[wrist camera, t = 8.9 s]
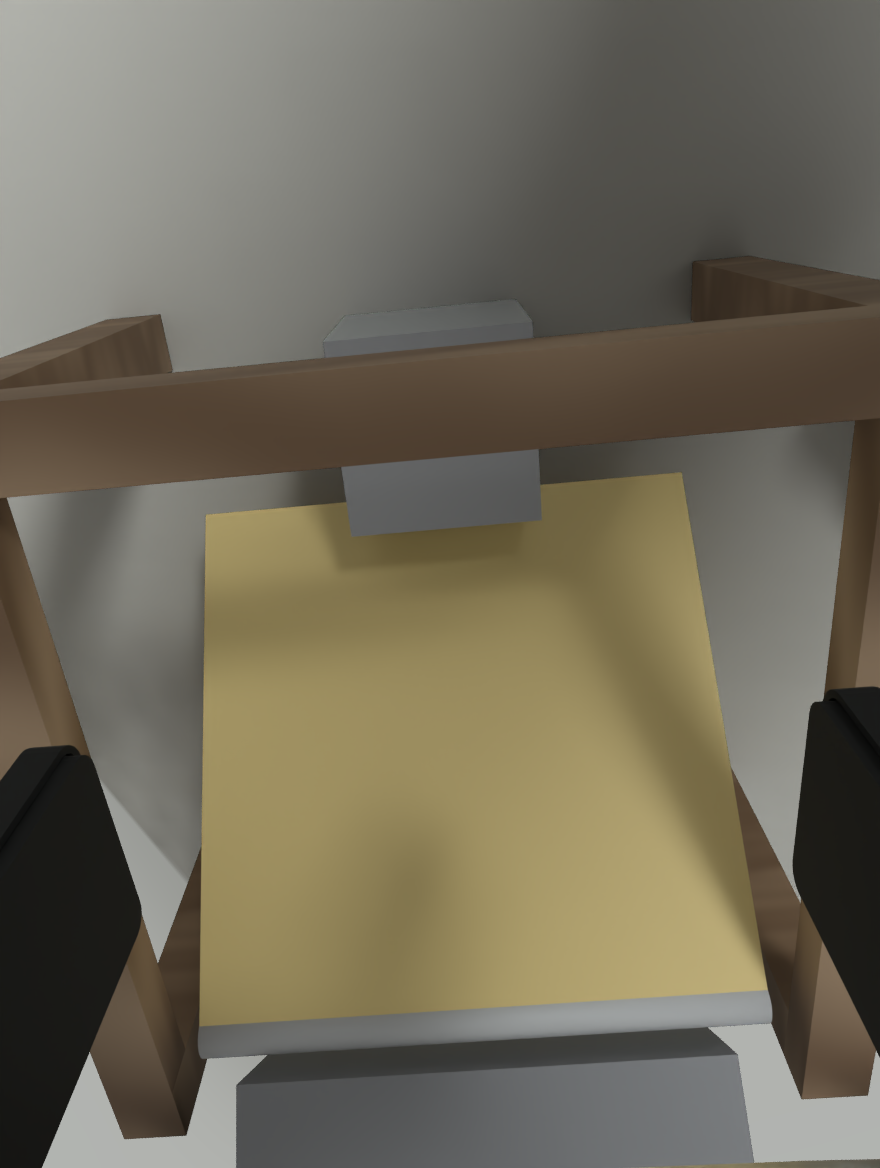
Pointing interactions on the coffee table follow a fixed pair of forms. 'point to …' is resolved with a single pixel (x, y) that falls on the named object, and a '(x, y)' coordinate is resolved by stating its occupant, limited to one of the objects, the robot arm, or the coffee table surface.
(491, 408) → the frame
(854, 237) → the coffee table surface
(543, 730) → the trapdoor
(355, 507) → the smooth grey cube
